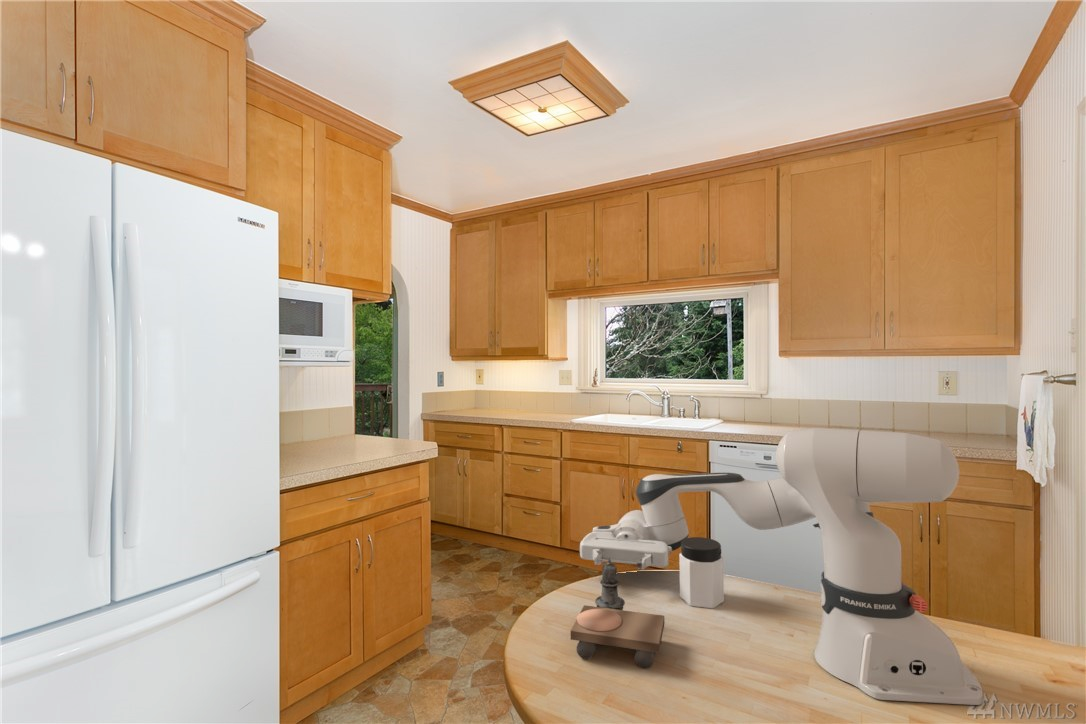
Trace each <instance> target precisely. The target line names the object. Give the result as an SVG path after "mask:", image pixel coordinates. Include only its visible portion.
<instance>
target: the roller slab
mask: <svg viewBox="0 0 1086 724" xmlns="http://www.w3.org/2000/svg"><path fill="white" fill-rule="evenodd" d="M572 625H573V626H572V628H571V629H570V640H571V641H572V640H573V641H578V643H577V646H576V648H575V649H576V654H577V655H578V656H579V657H580V658H581V659H583V660H589V659H591V658H592V657H593V655H594V654H595V651H596V648H597V647H598V644H599V645H604V646H611V647H618V648H625V649H632V650H636V651H635V653H634V654H635V655H634V661H635V664H636V665H637V666H638V667H639V668H640V669H645V670H646V669H649V668H651V667H652V665H653V663H654V659H655V653H658V654H659V653H660V648H661V644H662V639H663V634H664V633H663V632H664V629H665V615H662V614H654V613H646V612H638V611H631V610H624V609H623V610H617V609H609V608H601V607H597V606H592V605H585V604H584V605H583V606H582V608H581V610H580V612H579V614H578V615H577V617H576V620H575V621H574V623H573V624H572Z"/></svg>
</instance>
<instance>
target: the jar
mask: <svg viewBox="0 0 1086 724" xmlns="http://www.w3.org/2000/svg"><path fill="white" fill-rule="evenodd" d="M680 548H681V551H680V553H679V556H678V557H679V560H678V561H679V562H678V563H679V596H680V598H681V599H682V600H683V601H684V602H686V604H688V605H689V606H691V607H697V608H707V609H714V608H716V607H717V606H719V605H720V604H722V603H724V602H725V598H724V597H725V596H724V595H725V593H724V590H725V589H724V588H725V585H724V584H725V583H724V582H725V581H724V577H725V576H724V575H725V574H724V557H723V556H722V545H721V543H720V542H719V541H717V540H715V539H712V538H709V537H701V536H700V537H699V536H698V537H697V536H693V537H688V538H686V539H684V540H682V542H681V547H680Z"/></svg>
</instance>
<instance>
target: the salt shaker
mask: <svg viewBox="0 0 1086 724" xmlns="http://www.w3.org/2000/svg"><path fill="white" fill-rule="evenodd" d="M617 571H618V570H617V566H616V564H615V563H614V562H611V560H610V559H609V560H608V562H605V563H604V564H603V565H602V567H601V578H602V579H600V584H601V595H600V596H598V597H596V599H595V600H594V603H595V605H596V607H601V608H609V609H617V610H624V606H625V604H626V603H625V600H624V599H623V598H622V597H621V596H619V594H618V585H620V584H619V583H620V581H618V572H617Z"/></svg>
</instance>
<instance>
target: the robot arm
mask: <svg viewBox="0 0 1086 724" xmlns="http://www.w3.org/2000/svg"><path fill="white" fill-rule="evenodd" d="M956 457H957V456H955V454H954V452H953V451H952V449H950V447H949V446H948V445H947V444H946V443H944V442H943V440H941V439H937V438H933V437H928V436H923V435H918V434H913V433H907V432H902V431H901V432H899V431H879V430H866V429H865V430H860V429H849V428H848V429H847V428H846V429H845V428H832V427H831V428H827V427H810V428H802V429H795V430H789V431H788V432H786V433H785V434H784V435H783V437H782V438H781V439H780V440H779V443H778V445H777V447H776V452H775V462H776V463H775V464H776V467H777V470H778V473H779V475H780V476H781V477H780V478H774V479H769V480H764V481H761V480H760V481H753V480H749V479H746V478H745V477H743V476H742V474H739V473H735V472H702V473H684V474H683V473H681V474H663V473H662V474H661V473H654V474H650V475H646V476H644V477H642V478H641V479H640V481H639V482H638V484H637V486H636V489H635V495H636V497H637V501H638V503H639V505H640V507H641V509H640V510H639V509H635V510H630V511H628V512H627V513H625V514H624V515H623V516H622V517H621V518H620V519H619V520H618V523H616V524H612V525H602V526H601V525H600V526H594V527H592V531H591V532H590V533H587V534H586V535H585V536H584V537H583V539H582V540H581V541H580V542H579V556H580V558H581V559H582V560H586V561H588V560H589V561H593V564H594V565H597V566H601V565H602V564H603V562H606V563H608V560H609V559H610V560H611V562H610V563H618V564H619V563H620V564H627V565H637V566H636V569H637V570H645V569H646V568H647V567H648V568H649V567H657V568H665V567H668V566H669V561H670V559H669V554H671V553H672V552H673V551H676V550H678V549H680V548H681V542H682V540H684V539H686V538H689V537H690V531H689V528H688V524H687V520H686V518H685V517H686V516H685V513H684V512H683V511H684V510H683V507H682V503H681V501H680V498H679V493H693V492H696V493H697V492H699V493H700V492H713V493H716V494H718V495H719V496H721V497H722V498H723V500H725V501H726V502H727V504H728V505H729V506H730V507H731V509H732V510H733V511H734V512H735V514H736V515H737V516H738V517H739V519H741V521H742V522H744V523H745V524H746V525H747V526H750V528H751V527H752V528H754V529H755V530H759V531H764V530H765V531H767V530H774V529H779V528H780V529H781V528H785V527H789V526H794V525H796V524H800V523H804V522H807V521H809V520H813V519H814V518H816V519H817V522H816V523H815V524H812V526H813V527H814V528H818V529H819V530H820V533H821V542H822V550H823V551H822V553H823V571H822V572H821V578H820V603H821V604H820V605H821V607H822V616H821V623H820V625H821V626H820V630H819V636H818V639H817V642H816V646H815V650H814V652H813V653H814V654H813V655H814V659H815V660H816V662H817V664H818V665H819V666H820V667H821V668H822V669H824V671H826V672H827V673H829V674H830V675H832V676H834V677H835V678H837V679H840V680H841V681H843V682H846V683H848V684H850V685H853V686H855V687H856V688H858V689H859V690H861V691H862V692H863V693H864V694H867V696H870V697H871V698H874V699H875V700H880V701H881V700H882V701H900V702H901V701H902V702H915V703H916V702H917V703H933V704H934V703H935V704H953V705H966V706H967V705H971V706H979V705H982V703H983V702H984V694H983V688H982V685H981V684H980V682H979V681H978V679H977V677H976V676H975V674H973V672H972V671H971V670H970V669H969V668H968V667H967V666H966V665H965V664H963V663H962V660H961V656H960V654H959V651H958V649H957V647H956V645H955V644H954V641H953V640H952V639H951V638H950V636H949V635H948V634H947V633H946V632H945V631H944V630H942V629H941V628H940V627H939V626H937V625H936V624H935V623H934V622H933V621H931V620H930V619H929V618H927V617H926V616H925V615H924V614H923V613H925V612H926V611H927V610H928V608H929V606H928V602H927V601H926V600H925V599H924V598H923V597H922V596H920V595H918V594H916V592H915V591H914V590H913V589H912V588H911V587H909V586H908V584H905V582H903V581H902V578H903V577H902V545H901V541H900V539H899V537H898V535H897V534H896V533H895V531H894V530H892V529H891V527H889V526H888V525H886V524H885V523H883V522H882V521H880V520H879V519H876V517H874V512H873V511H871V507H870V504H881V503H882V504H883V503H890V504H891V503H895V504H897V503H898V504H913V503H915V504H919V503H920V504H921V503H922V504H923V503H925V504H926V503H940V502H941V503H942V502H944V501H945V500H946V499H947V498H949V497H950V496H951V495H952V494H953V492H954V491H955V489H956V487H957V486H958V483H959V480H960V466H959V462H958V460H957V458H956Z"/></svg>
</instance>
